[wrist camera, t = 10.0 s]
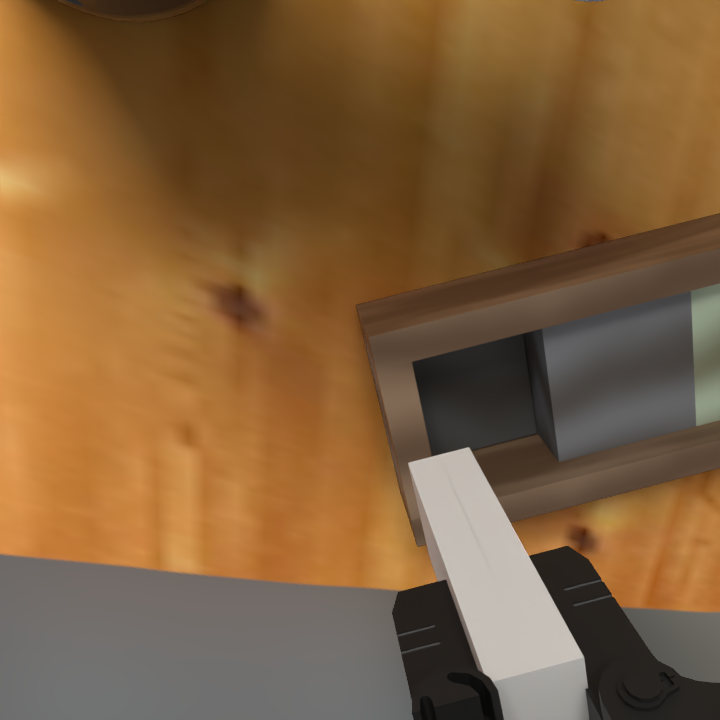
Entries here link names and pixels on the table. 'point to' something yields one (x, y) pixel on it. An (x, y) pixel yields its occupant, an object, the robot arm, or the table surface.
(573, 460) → the trap box
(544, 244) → the table surface
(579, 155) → the table surface
